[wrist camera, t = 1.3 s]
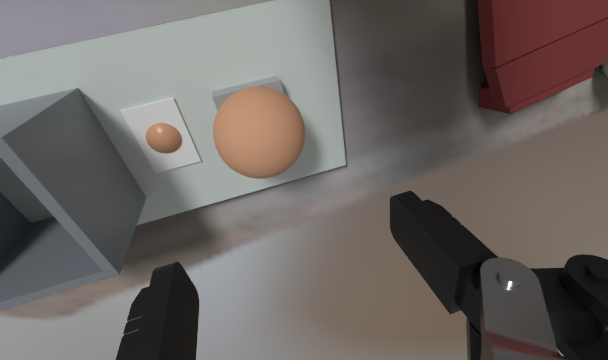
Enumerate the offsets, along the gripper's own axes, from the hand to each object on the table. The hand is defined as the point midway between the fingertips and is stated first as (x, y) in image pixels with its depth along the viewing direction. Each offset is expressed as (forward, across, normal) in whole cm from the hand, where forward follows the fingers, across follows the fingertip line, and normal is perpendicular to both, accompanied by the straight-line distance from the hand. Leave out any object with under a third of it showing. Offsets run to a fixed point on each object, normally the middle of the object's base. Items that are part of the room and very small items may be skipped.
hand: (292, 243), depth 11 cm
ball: (+10, 0, 0) cm, 10 cm away
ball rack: (+15, +7, 0) cm, 17 cm away
